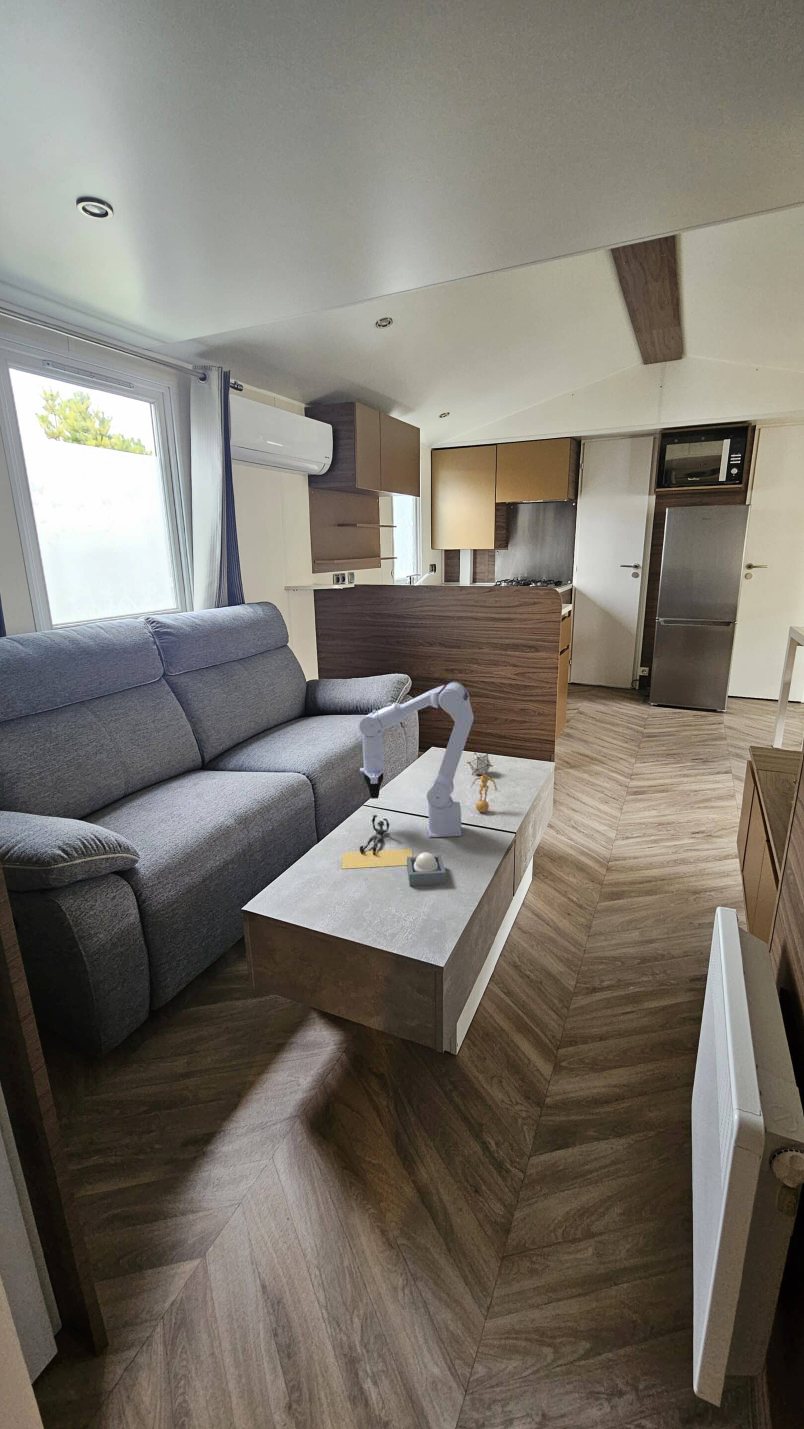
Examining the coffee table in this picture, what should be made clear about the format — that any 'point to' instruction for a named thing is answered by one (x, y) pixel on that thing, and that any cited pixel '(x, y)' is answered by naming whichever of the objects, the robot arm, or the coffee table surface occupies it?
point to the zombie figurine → (378, 835)
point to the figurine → (483, 804)
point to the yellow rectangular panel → (376, 858)
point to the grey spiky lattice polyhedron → (480, 764)
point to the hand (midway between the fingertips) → (374, 797)
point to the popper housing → (426, 873)
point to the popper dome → (425, 863)
